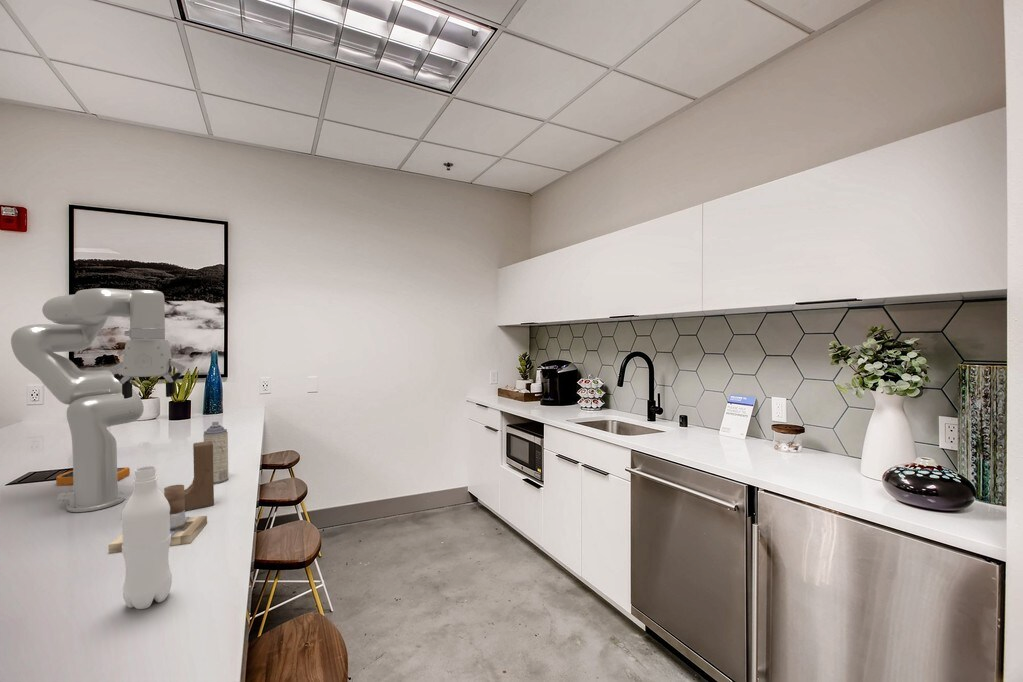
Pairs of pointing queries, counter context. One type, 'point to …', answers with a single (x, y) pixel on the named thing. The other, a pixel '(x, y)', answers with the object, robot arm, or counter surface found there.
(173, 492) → the two-tone cylinder
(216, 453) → the aerosol can
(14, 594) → the counter surface
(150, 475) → the water bottle
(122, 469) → the multimeter
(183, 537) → the board
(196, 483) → the wooden block
